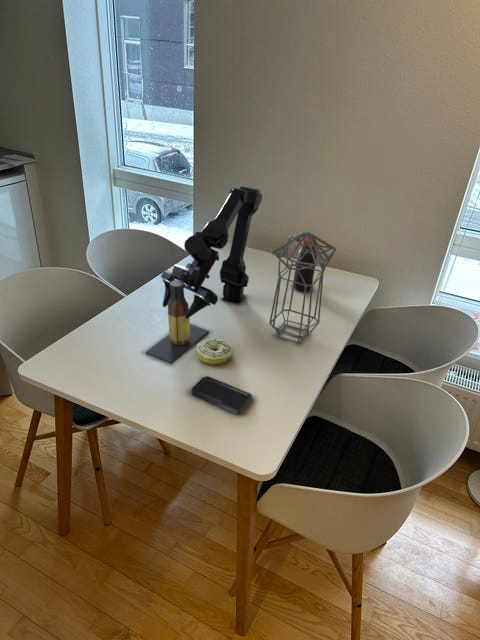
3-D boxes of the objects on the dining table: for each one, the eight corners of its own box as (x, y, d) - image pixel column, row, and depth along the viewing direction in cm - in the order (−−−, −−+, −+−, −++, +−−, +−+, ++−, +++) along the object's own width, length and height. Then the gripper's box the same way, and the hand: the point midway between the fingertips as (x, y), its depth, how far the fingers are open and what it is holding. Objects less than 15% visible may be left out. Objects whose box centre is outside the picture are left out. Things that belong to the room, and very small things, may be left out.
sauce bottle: (191, 336, 148) (192, 279, 138) (187, 347, 143) (188, 289, 132) (170, 333, 148) (169, 276, 138) (166, 345, 143) (164, 286, 133)
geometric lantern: (323, 331, 156) (341, 230, 137) (305, 355, 144) (323, 248, 125) (279, 317, 162) (291, 218, 143) (259, 339, 150) (269, 234, 131)
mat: (185, 323, 155) (185, 322, 155) (208, 331, 151) (208, 330, 151) (145, 353, 140) (145, 351, 140) (170, 363, 136) (170, 362, 136)
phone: (205, 375, 131) (253, 394, 125) (205, 378, 132) (253, 398, 126) (189, 390, 125) (239, 412, 119) (189, 394, 126) (238, 415, 120)
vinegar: (314, 287, 182) (322, 238, 171) (306, 294, 177) (314, 244, 166) (298, 282, 185) (305, 233, 174) (290, 288, 180) (297, 239, 169)
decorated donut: (239, 356, 141) (240, 346, 139) (213, 372, 134) (214, 361, 132) (214, 341, 147) (215, 331, 145) (188, 355, 140) (189, 345, 138)
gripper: (164, 244, 138) (137, 290, 137) (212, 264, 129) (184, 314, 127) (183, 261, 148) (158, 304, 146) (229, 281, 138) (203, 327, 137)
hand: (174, 312), depth 139 cm, fingers open, 9 cm apart
